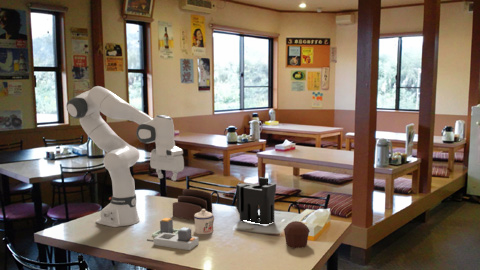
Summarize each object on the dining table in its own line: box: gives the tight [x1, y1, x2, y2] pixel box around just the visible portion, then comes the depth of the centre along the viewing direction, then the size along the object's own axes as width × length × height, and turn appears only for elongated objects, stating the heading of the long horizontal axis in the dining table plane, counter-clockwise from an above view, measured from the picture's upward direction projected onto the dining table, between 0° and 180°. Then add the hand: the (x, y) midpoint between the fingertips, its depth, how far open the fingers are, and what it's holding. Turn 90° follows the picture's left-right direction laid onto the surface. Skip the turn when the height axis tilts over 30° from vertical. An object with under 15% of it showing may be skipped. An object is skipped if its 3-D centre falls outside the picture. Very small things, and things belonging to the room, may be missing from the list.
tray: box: [151, 228, 180, 238], centre depth 205 cm, size 10×10×2 cm
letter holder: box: [172, 188, 214, 222], centre depth 233 cm, size 10×20×14 cm, turn 57°
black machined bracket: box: [235, 176, 277, 224], centre depth 223 cm, size 12×21×22 cm, turn 54°
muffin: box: [283, 220, 311, 249], centre depth 191 cm, size 12×11×10 cm
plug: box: [159, 217, 174, 234], centre depth 204 cm, size 4×4×8 cm
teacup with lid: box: [194, 209, 215, 235], centre depth 209 cm, size 12×9×12 cm
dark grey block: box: [178, 226, 192, 242], centre depth 189 cm, size 4×4×8 cm
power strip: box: [146, 232, 200, 251], centre depth 192 cm, size 24×8×5 cm, turn 68°
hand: (167, 179), depth 204 cm, fingers open, 8 cm apart
